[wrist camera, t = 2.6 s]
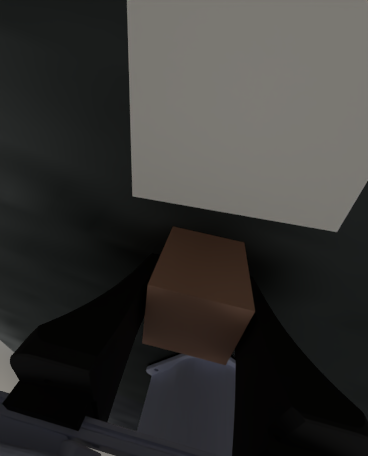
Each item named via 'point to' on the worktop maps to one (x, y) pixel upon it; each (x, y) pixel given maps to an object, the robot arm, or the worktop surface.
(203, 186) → the tower top
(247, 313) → the terracotta cube
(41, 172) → the worktop surface
